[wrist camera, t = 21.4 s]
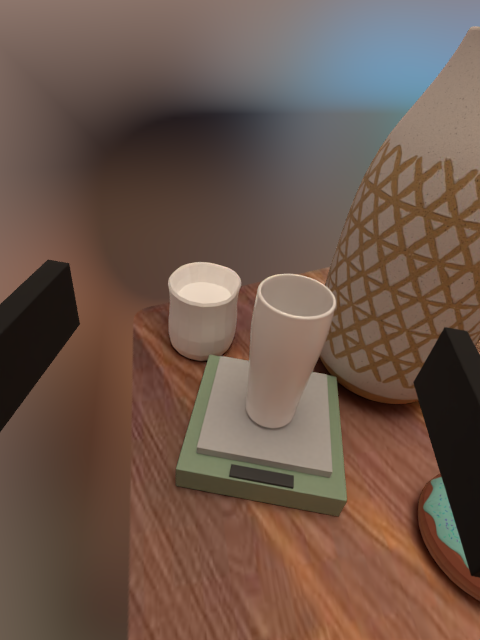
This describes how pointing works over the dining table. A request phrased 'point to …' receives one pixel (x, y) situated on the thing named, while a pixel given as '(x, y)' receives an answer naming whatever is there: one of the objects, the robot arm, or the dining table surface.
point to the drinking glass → (285, 344)
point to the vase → (412, 241)
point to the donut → (444, 536)
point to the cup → (203, 309)
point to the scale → (264, 444)
